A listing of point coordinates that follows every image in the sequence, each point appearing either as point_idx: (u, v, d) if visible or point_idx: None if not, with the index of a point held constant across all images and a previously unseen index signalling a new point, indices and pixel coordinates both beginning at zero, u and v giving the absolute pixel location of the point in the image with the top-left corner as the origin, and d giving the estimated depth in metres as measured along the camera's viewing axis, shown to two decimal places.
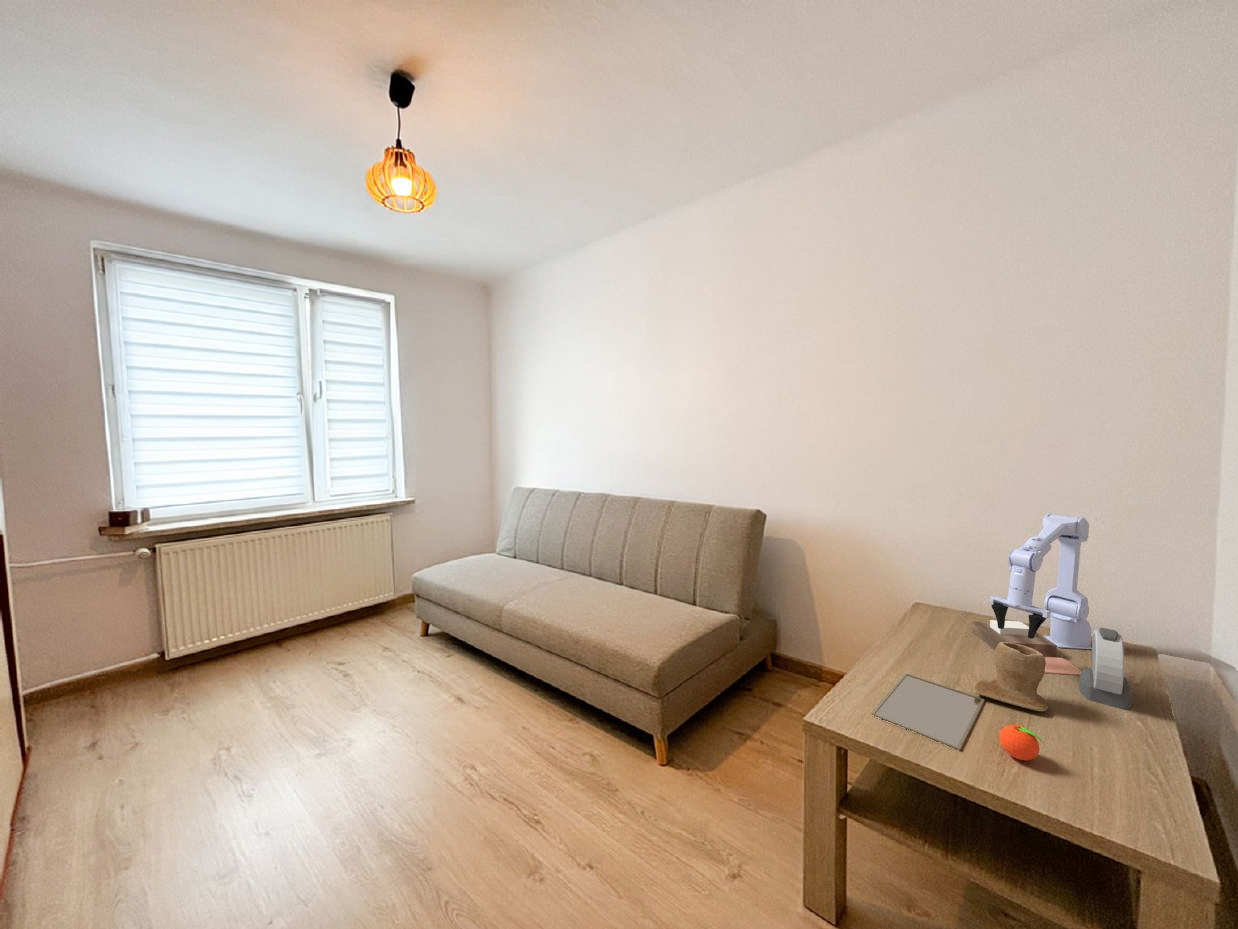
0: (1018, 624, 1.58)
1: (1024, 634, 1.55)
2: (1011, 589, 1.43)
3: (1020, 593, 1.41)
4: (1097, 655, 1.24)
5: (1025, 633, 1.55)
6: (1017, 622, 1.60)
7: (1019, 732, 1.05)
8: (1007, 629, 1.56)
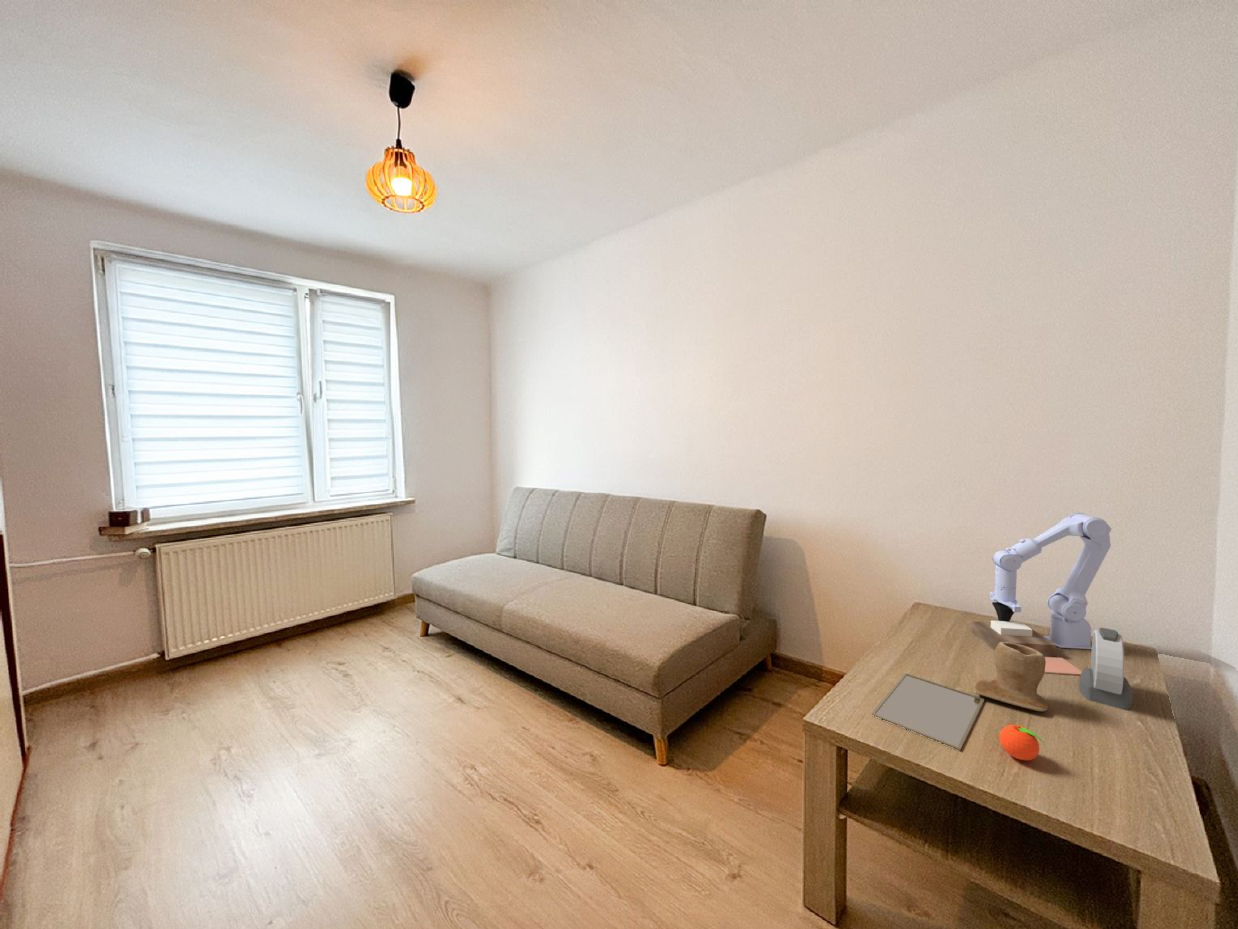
0: (1019, 625, 1.58)
1: (1024, 634, 1.55)
2: None
3: (998, 589, 1.61)
4: (1097, 655, 1.24)
5: (1025, 634, 1.55)
6: (1018, 623, 1.59)
7: (1019, 732, 1.05)
8: (1007, 629, 1.56)
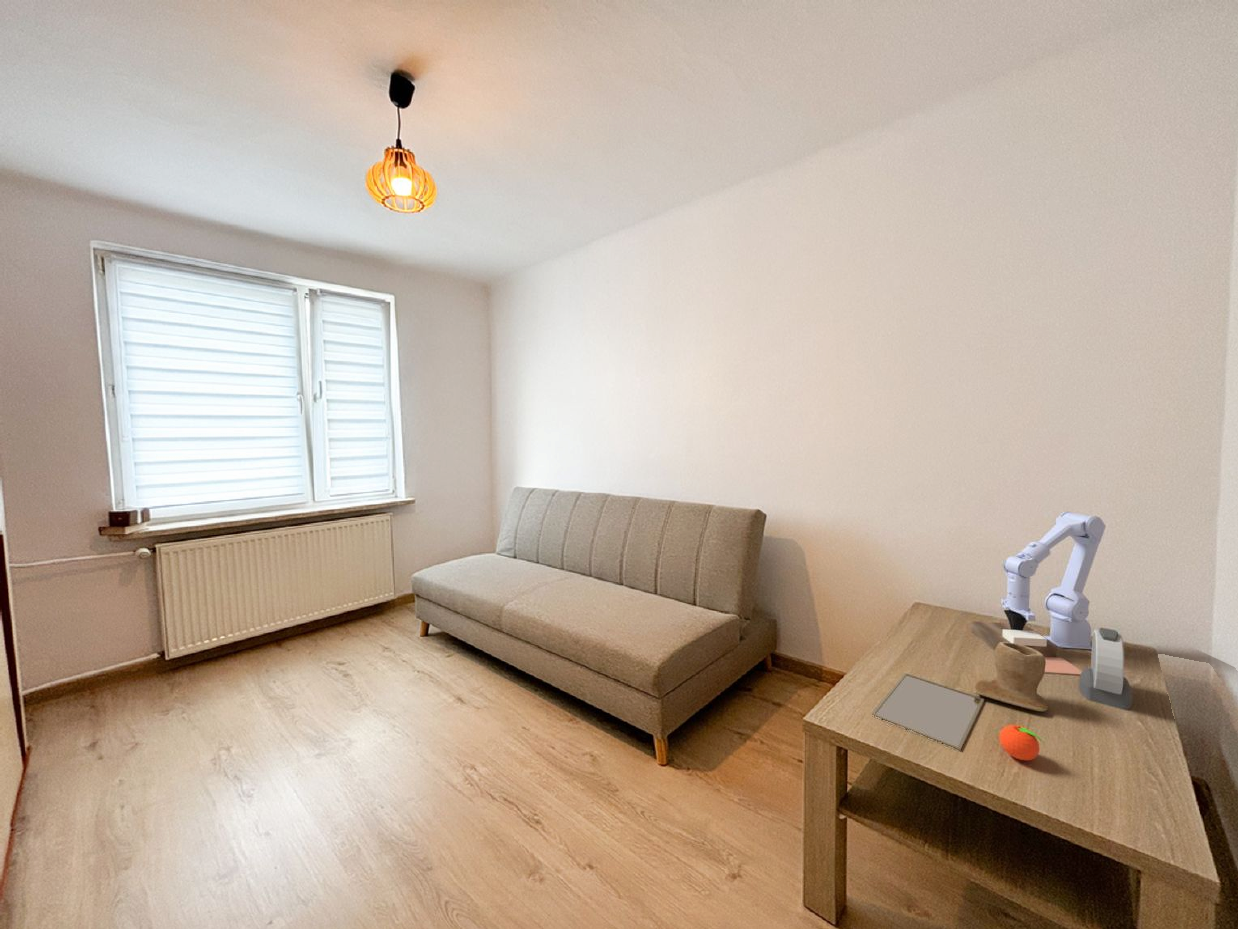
0: (1032, 634, 1.51)
1: (1038, 644, 1.48)
2: None
3: (1010, 596, 1.54)
4: (1097, 655, 1.24)
5: (1039, 643, 1.48)
6: (1031, 632, 1.53)
7: (1019, 732, 1.05)
8: (1021, 639, 1.49)
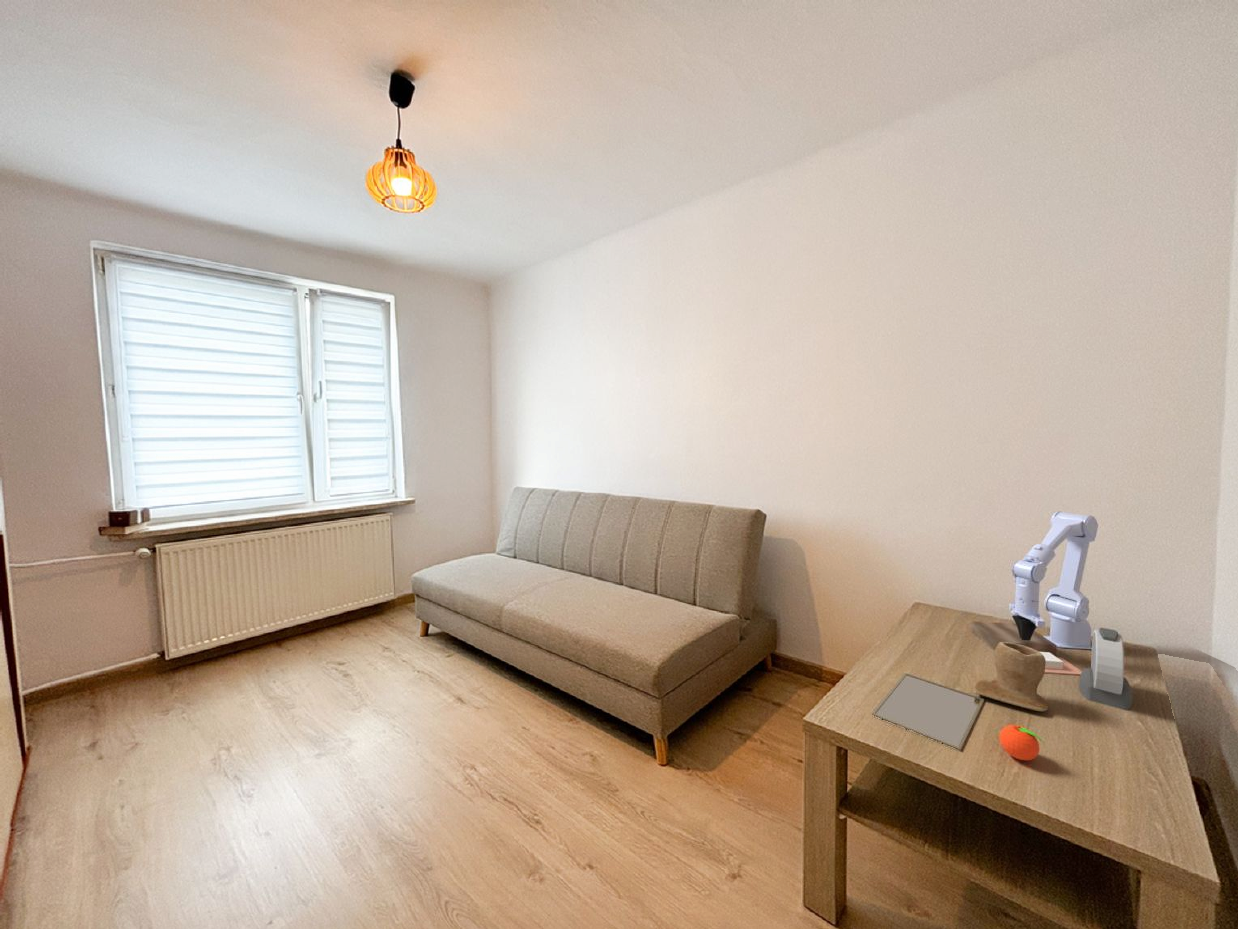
0: None
1: None
2: (1015, 597, 1.52)
3: (1019, 602, 1.49)
4: (1097, 655, 1.24)
5: None
6: None
7: (1019, 732, 1.05)
8: None
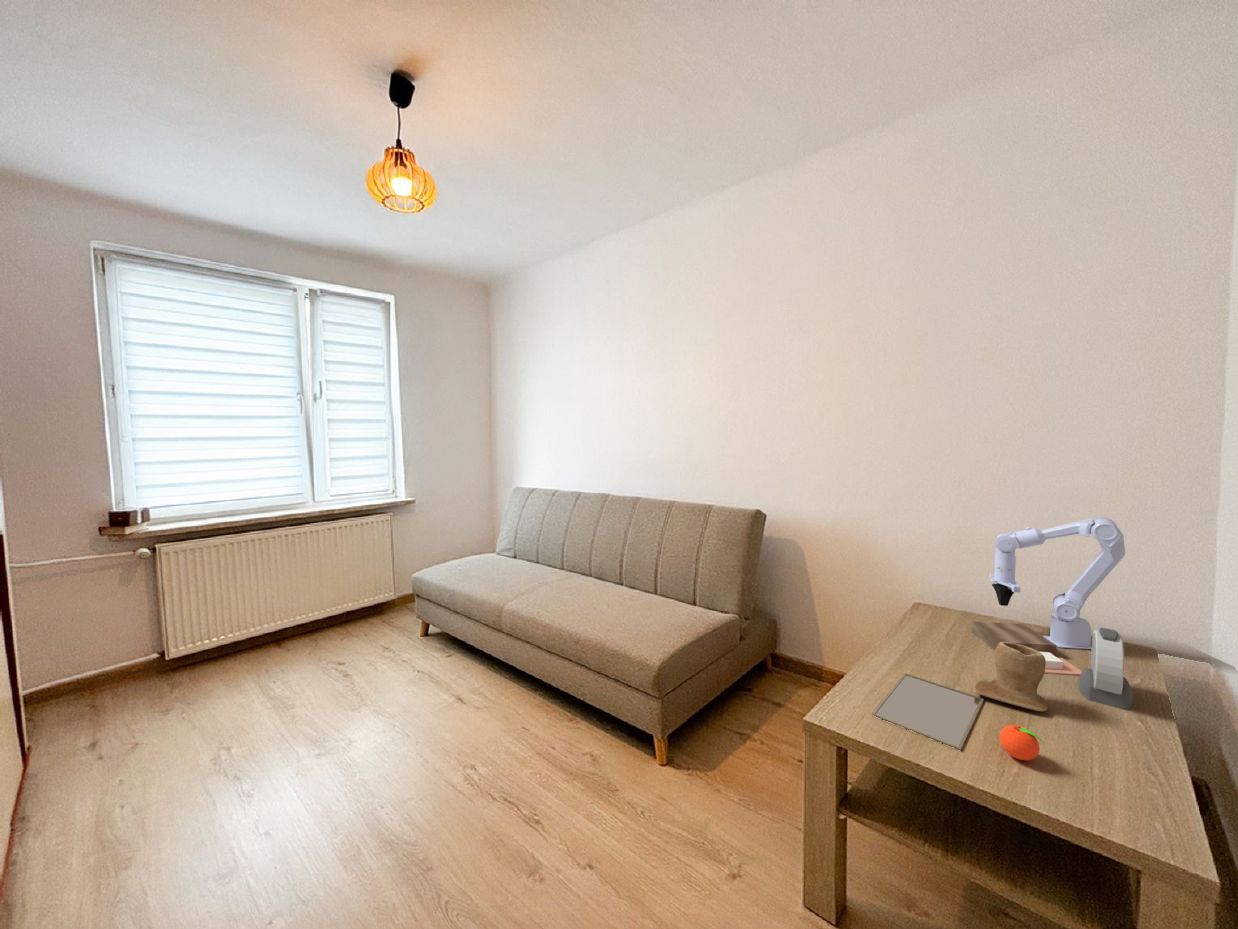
0: None
1: None
2: None
3: (998, 571, 1.66)
4: (1097, 655, 1.24)
5: None
6: None
7: (1019, 732, 1.05)
8: None
